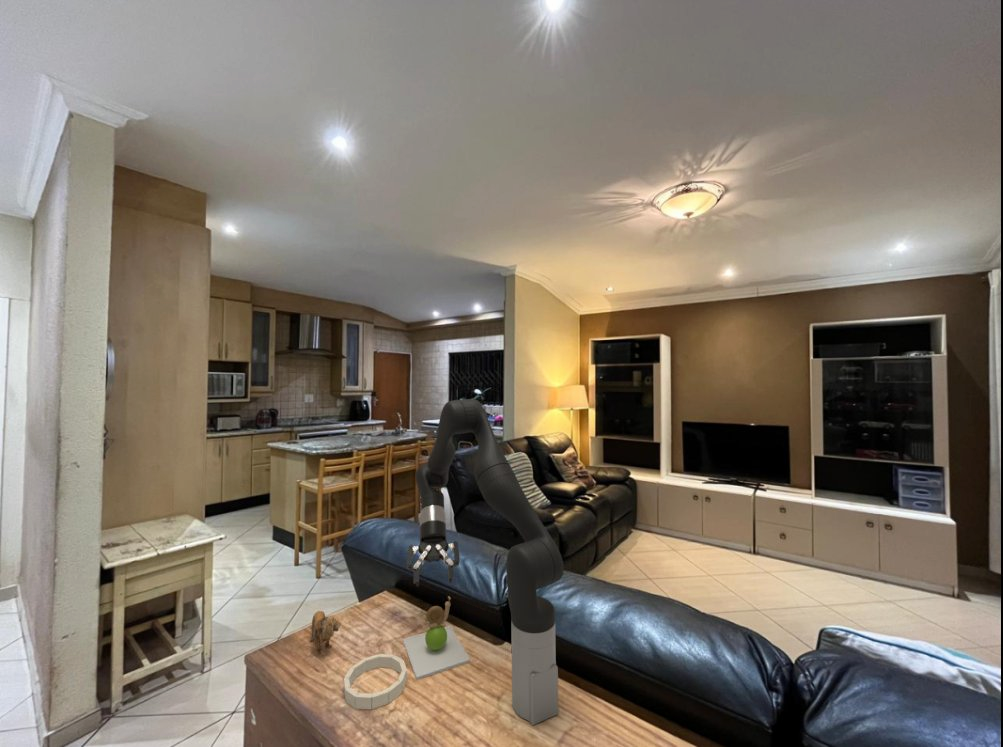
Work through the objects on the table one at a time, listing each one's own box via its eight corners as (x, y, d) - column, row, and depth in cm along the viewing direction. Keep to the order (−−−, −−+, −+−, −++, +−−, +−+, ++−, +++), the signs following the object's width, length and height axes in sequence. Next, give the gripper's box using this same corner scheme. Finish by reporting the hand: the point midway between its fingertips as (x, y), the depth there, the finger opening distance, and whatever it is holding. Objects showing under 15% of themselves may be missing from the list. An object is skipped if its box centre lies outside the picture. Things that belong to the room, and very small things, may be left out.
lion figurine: (342, 652, 99) (343, 615, 100) (321, 662, 96) (321, 624, 96) (321, 626, 110) (321, 593, 110) (300, 635, 106) (300, 601, 106)
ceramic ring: (411, 695, 85) (411, 684, 85) (347, 718, 80) (347, 706, 80) (399, 658, 97) (399, 648, 97) (342, 675, 91) (342, 664, 91)
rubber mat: (470, 662, 95) (470, 659, 95) (416, 680, 90) (416, 677, 90) (450, 627, 109) (450, 625, 109) (402, 641, 103) (402, 638, 103)
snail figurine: (453, 651, 98) (453, 602, 99) (427, 657, 96) (427, 607, 96) (448, 638, 103) (447, 591, 104) (423, 644, 101) (423, 596, 101)
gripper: (407, 521, 113) (405, 581, 102) (457, 517, 116) (461, 575, 104) (408, 532, 118) (407, 591, 107) (456, 529, 121) (459, 586, 110)
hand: (433, 583), depth 106 cm, fingers open, 8 cm apart
